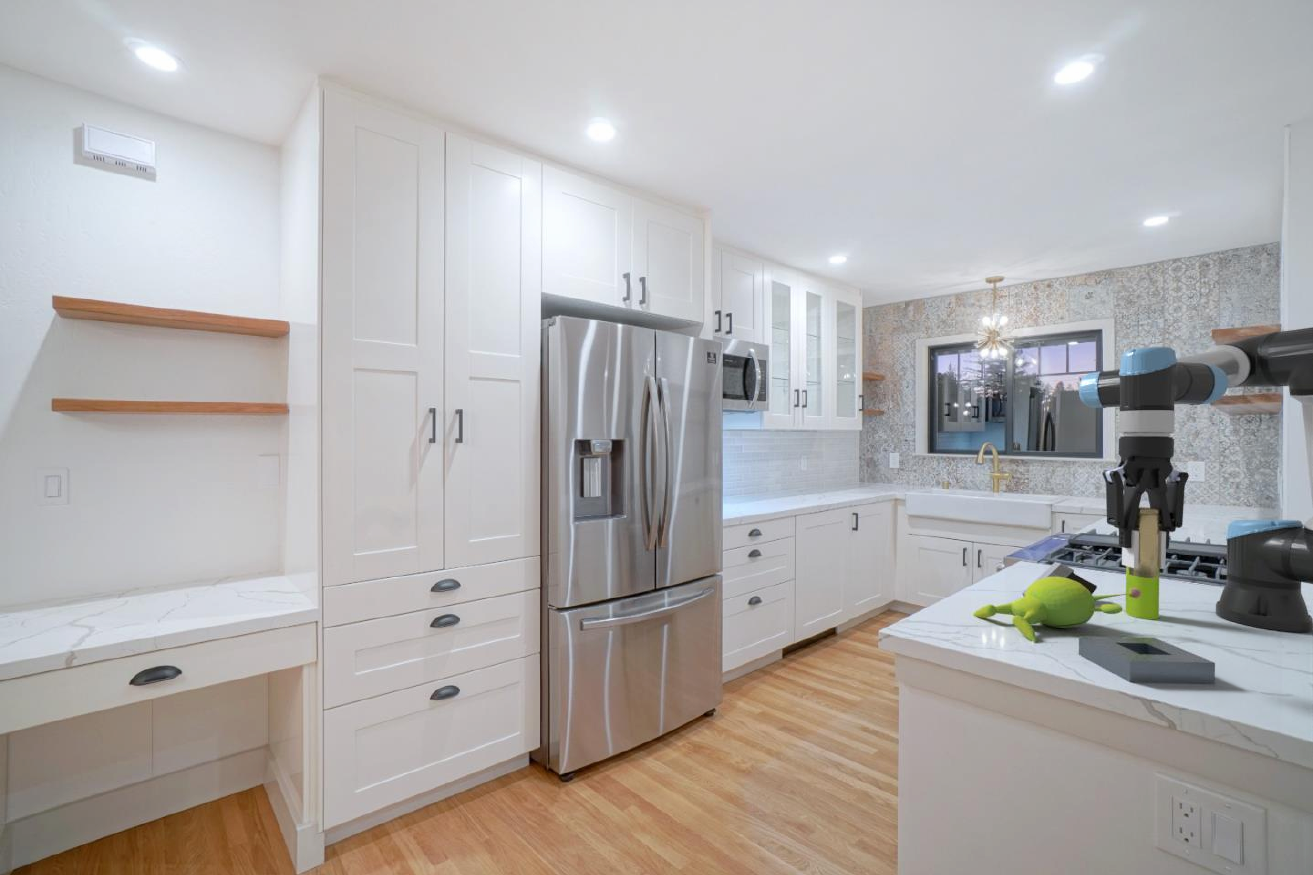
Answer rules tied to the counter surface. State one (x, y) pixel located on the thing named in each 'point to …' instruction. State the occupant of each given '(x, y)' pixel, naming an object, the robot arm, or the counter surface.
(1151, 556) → the gold metallic cylinder
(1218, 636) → the counter surface
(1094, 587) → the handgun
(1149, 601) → the soap dispenser
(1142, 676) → the jig
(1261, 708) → the counter surface
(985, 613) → the toy
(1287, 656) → the counter surface
